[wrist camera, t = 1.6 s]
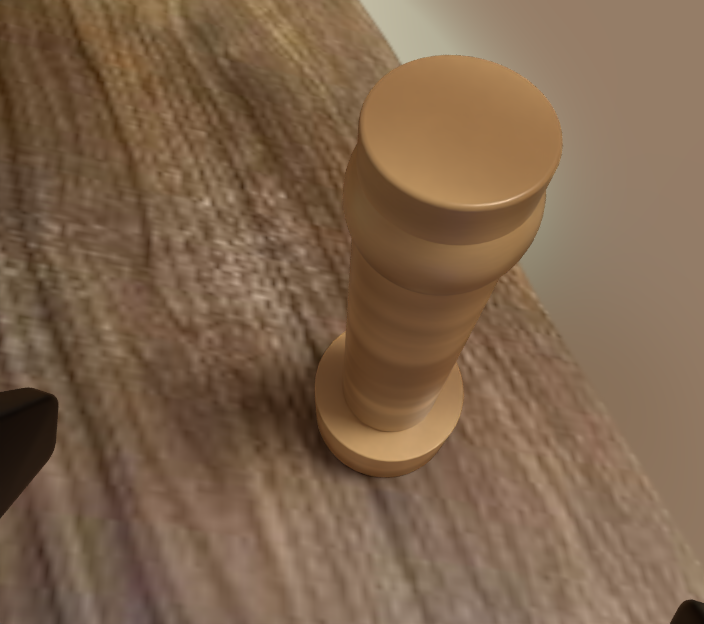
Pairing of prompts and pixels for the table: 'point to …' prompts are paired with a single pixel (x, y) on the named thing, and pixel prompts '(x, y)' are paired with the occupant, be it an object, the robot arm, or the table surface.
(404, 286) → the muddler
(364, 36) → the table surface
